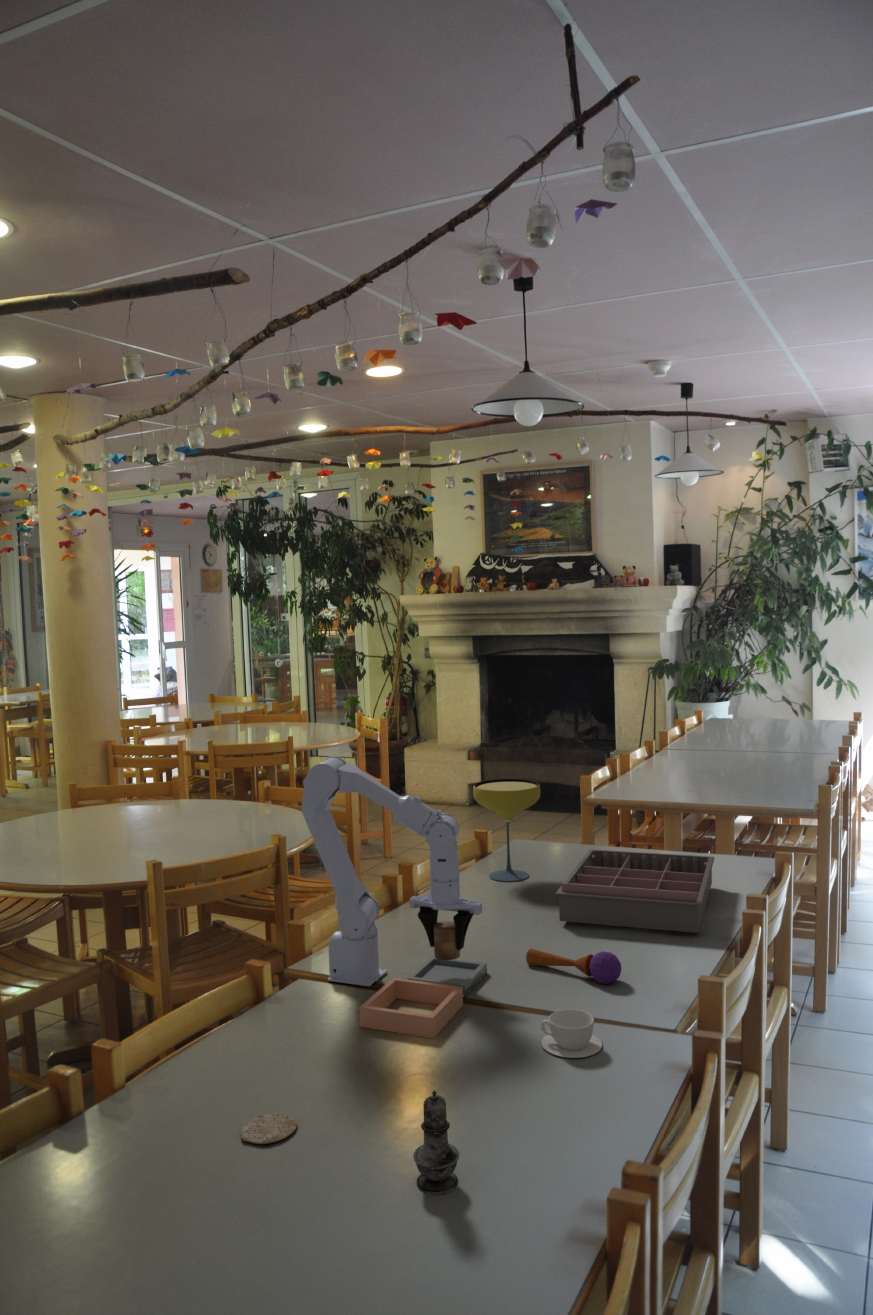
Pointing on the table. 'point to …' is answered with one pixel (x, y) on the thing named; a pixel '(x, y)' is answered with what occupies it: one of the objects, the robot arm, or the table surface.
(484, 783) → the cocktail glass
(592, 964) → the kendama
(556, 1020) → the teacup
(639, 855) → the organizer tray
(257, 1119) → the flatbread
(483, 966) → the tray
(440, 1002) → the holder
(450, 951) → the brown rounded cylinder
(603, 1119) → the table surface
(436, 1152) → the salt shaker
